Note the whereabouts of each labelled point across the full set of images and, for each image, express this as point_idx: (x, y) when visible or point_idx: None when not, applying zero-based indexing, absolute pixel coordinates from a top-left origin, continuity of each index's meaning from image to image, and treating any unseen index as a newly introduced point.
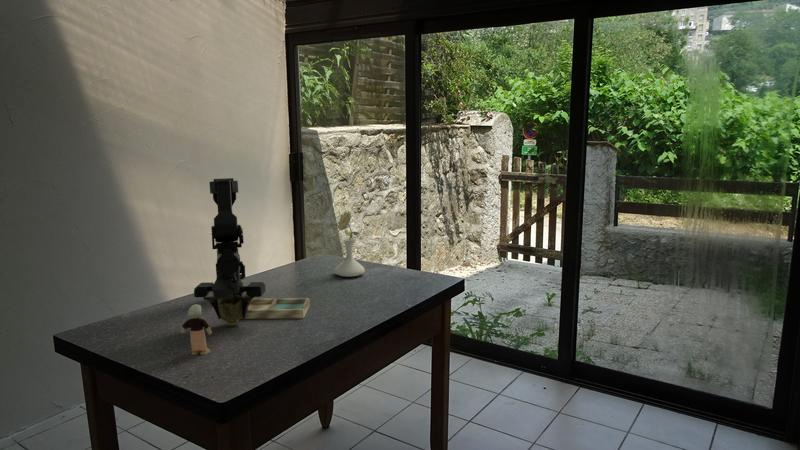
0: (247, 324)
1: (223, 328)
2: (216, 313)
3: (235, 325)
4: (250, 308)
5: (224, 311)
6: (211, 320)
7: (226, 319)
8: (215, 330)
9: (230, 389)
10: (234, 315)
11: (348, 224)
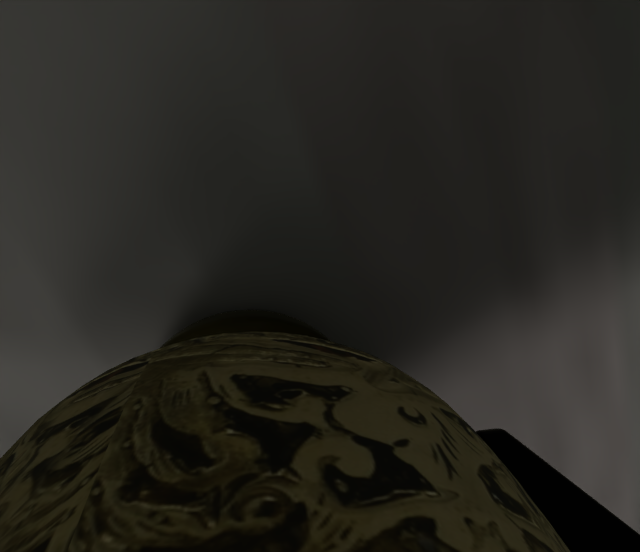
0: (13, 433)
1: (356, 254)
2: (606, 513)
3: (163, 345)
4: None
5: (366, 509)
6: (593, 493)
7: (294, 338)
8: (477, 156)
9: None
10: (30, 443)
11: None
